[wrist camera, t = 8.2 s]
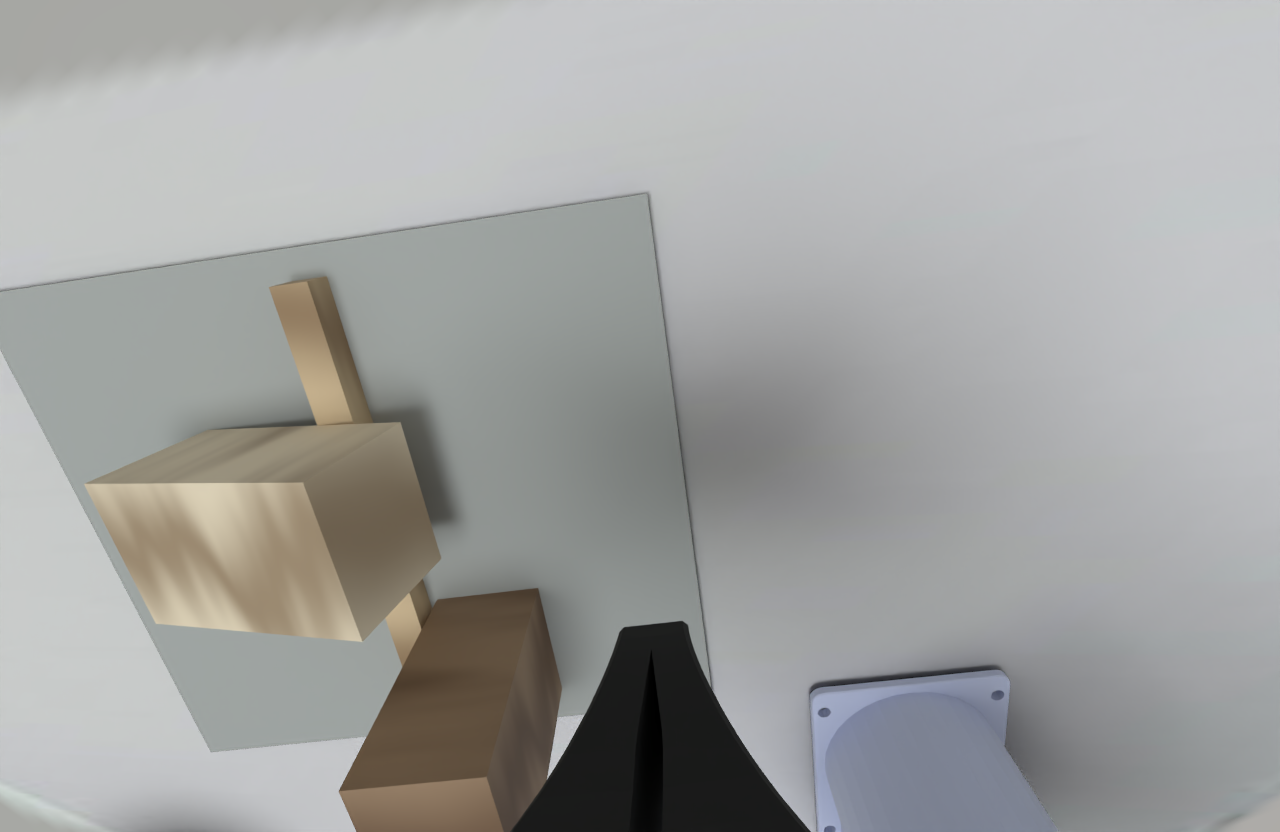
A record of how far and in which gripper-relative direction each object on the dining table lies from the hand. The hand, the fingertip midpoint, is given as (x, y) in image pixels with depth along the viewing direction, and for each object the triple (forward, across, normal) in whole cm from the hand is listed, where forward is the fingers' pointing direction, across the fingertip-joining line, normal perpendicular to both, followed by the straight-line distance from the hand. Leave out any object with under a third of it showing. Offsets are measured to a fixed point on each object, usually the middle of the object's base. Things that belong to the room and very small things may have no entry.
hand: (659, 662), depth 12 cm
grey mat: (+10, +10, +1) cm, 14 cm away
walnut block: (+10, +7, +7) cm, 14 cm away
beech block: (+6, +8, -1) cm, 10 cm away
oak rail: (+10, +10, +1) cm, 14 cm away
